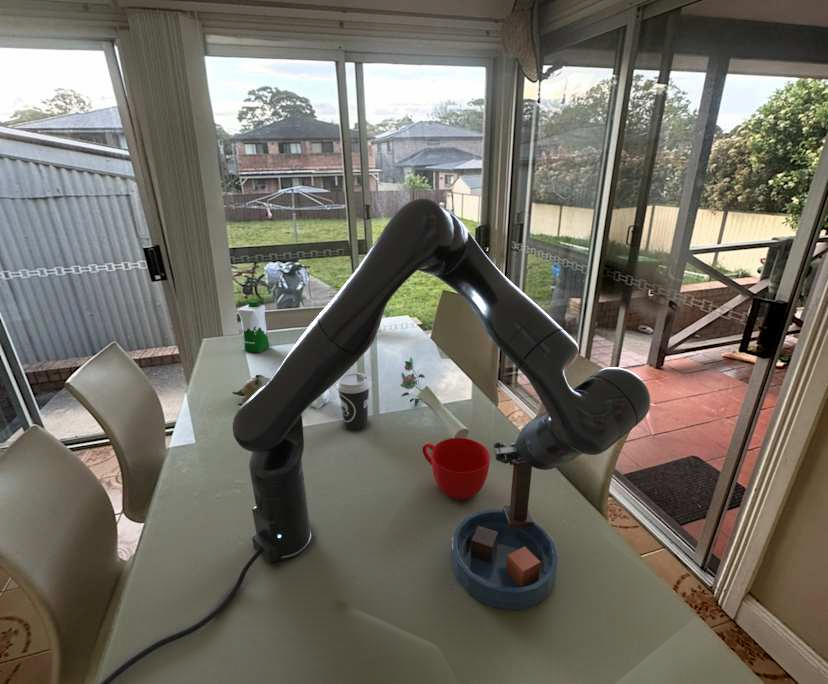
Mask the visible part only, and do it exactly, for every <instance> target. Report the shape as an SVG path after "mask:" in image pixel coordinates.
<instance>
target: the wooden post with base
mask: <svg viewBox="0 0 828 684" xmlns="http://www.w3.org/2000/svg"><path fill="white" fill-rule="evenodd" d="M512 466H513V467H512V469H513V470H512V478H511V490H510V491H511V492H510V501H509V505H503V506H502V510H503V513H504V516H505V518H506V521H507V523H508V526H509V528H523V527H533V526H534V521H535V520H534V518H533V517H532V514H531V512H530V510H529V501H530V500H529V499H530V492H531V480H532V471H533V467H532V466H531V465H529V464H528V463H527V462H526V463H516V464H515V465H512ZM533 520H534V521H533Z"/></svg>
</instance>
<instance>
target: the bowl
mask: <svg viewBox="0 0 828 684" xmlns="http://www.w3.org/2000/svg"><path fill="white" fill-rule="evenodd" d="M533 521H534V526H533V527H523V528H509V526H508V523H507V521H506V518H505V516H504V513H503V509H495V508H494V509H493V508H491V509H483V510H480V511H477V512H474V513H472V514H470V515H467V516H466V517H465V518H464V519H463V520H462V521H461V522H460V523H459V524H458V525H457V526H456V528H455V531H454V533H453V535H452V545H451V547H452V549H451V567H452V570H453V572H454V575H455V578H456V581H457V582H458V583H459V584H460V585H461V587H462V588H463V589H464V590H465V592H466V593H467V594H468V595H470V597H471V596H472V597H473V598H474V599H475V600H477V601H479V602H480V603H481V604H482V605H483V604H484V605H487V606H489V607H492V608H495V609H498V610H502V611H503V610H505V611H521V610H526V609H530V608H533V607H536V606H537V605H538V604H540V603H541V602H543V601H545V600H546V599H547V598H548V597H549V595H550V593H551V592H552V590H553V588H554V587H555V581H556V575H557V568H558V562H559V561H558V560H559V554H558V551H557V550H558V549H557V546H556V544H555V541H554V540H553V538H552V537H551V536H550V534H549V533H548V531H547V530H546V529H545V528H543V527H542V526H541V525H540V524H539V523H538V522H537V521H535V520H534V519H533ZM478 526H481V527H484V528H487V529H490V530H493V531H496V532H498V541H497V549H496V552H495V555H494V558H493V560H492V563H488V562H485V561H483V560H480V559H477V558H474V557H471V542H472V538H473V536H474V534H475V531H476V529H477V527H478ZM524 546H525V547H526V548H527V549H528V550H529V551H530V552H531V553H532V554H533V555H534V556H535V557H536V558H537V559H538V560H539V561H540V570H539V578H538V579H537V580H535V581H534V582H532V583H530V584H528V585H527V586H525V587H520V586H519V585H518V584H517V583H516V582H515V581H514V580H513V578H512V577H511V576H510V575H509V574H508V573H507V572H506V571H507V560H508V555H509V554H511V553H513V552H515V551H517V550H519V549H521V548H522V547H524Z"/></svg>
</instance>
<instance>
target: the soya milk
mask: <svg viewBox="0 0 828 684" xmlns="http://www.w3.org/2000/svg"><path fill="white" fill-rule="evenodd" d="M247 302H248V304H246V305H244V306H241V307H240V308H238V309H236V311H237V313H238V316H239V318H240V322H241V329H242V335H243V344H244V345H243V346H244V352H250V353H256V354H257V353H261V352H264V351H265V350H266V349H268V348H269V347H270V342H269V336H268V330H267V324H266V305H263V304H260V301H259V299H250V300H248V301H247Z"/></svg>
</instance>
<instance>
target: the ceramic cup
mask: <svg viewBox="0 0 828 684" xmlns="http://www.w3.org/2000/svg"><path fill="white" fill-rule="evenodd" d="M428 449H430V450H431V455H430V454H429V451H428ZM422 454H423V457H424V459H425V460H426V461H427V462H428V463H429V465H431V470H432V474H433V477H434V480H435V483H436V485H437V486H438V488H439V490H441V492H443V494H444V495H446V496H448V498H451V499H453V500H463V501H464V500H467V499H470V498H472V497H473V496H475V495H477V494H478V493H479V492H480V490H481V489H482V488H483V487H484V485H485V483H486V481H487V477H488V474H489V469H490V461H491V456H490V452H489V451H488V449H487V448H486V447H485V446H484V445H483V444H481V443H480V442H478V441H476V440H474V439H470V438H452V437H451V438H447V439H444V440H441V441H439V442H437V443H436V444H435V445H434V444H432V443H430V442H427V443H425V444H423V446H422Z"/></svg>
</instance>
